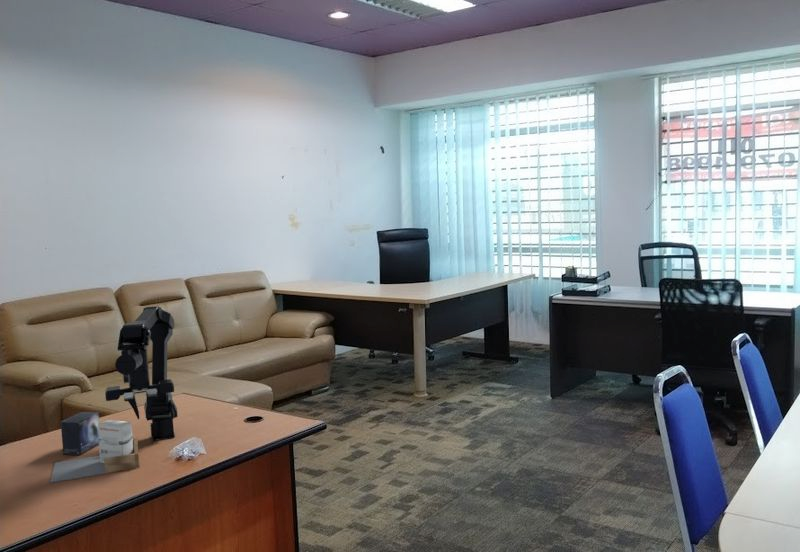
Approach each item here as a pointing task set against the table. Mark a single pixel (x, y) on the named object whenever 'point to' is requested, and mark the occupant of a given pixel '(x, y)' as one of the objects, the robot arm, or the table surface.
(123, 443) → the ink box
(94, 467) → the felt pad
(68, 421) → the small box
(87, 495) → the table surface
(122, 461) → the corral
